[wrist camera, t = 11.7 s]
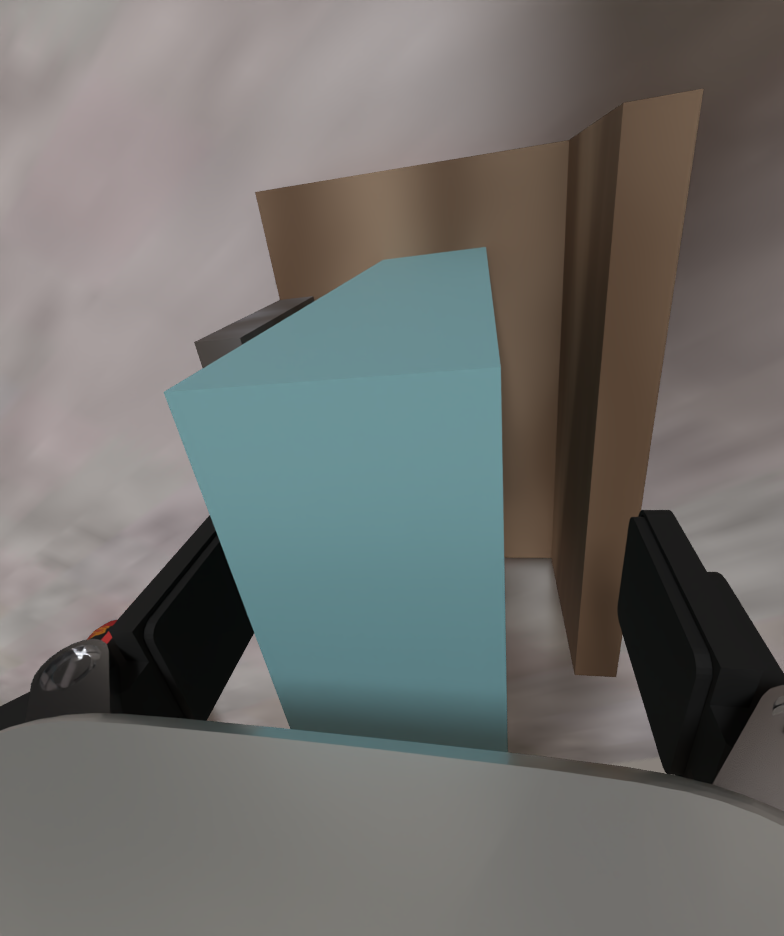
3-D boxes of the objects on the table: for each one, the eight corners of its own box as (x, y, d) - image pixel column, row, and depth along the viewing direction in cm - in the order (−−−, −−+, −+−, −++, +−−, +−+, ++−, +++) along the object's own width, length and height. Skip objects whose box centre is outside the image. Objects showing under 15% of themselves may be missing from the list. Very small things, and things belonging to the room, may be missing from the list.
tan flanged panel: (606, 137, 17) (703, 88, 9) (576, 539, 25) (616, 677, 18) (270, 192, 19) (143, 187, 12) (345, 540, 28) (298, 660, 21)
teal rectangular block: (485, 246, 18) (500, 366, 5) (493, 509, 23) (510, 885, 11) (382, 260, 19) (163, 392, 6) (414, 510, 24) (340, 861, 11)
